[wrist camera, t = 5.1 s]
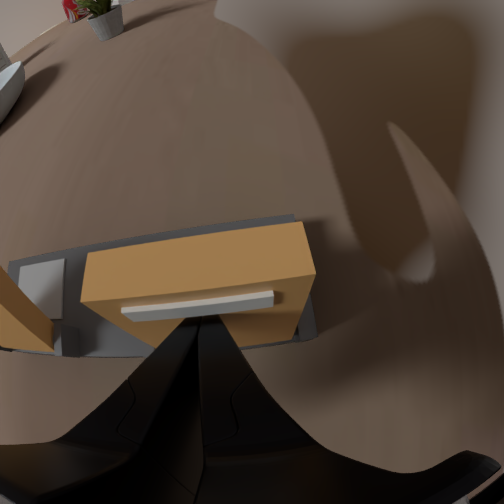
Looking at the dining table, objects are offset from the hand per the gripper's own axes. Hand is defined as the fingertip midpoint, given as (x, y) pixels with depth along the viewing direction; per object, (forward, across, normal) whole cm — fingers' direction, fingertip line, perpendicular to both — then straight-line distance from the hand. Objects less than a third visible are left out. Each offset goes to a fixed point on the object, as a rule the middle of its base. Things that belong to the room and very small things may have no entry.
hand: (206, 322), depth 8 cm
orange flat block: (+3, 0, +3) cm, 5 cm away
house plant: (+45, +18, -34) cm, 59 cm away
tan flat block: (+3, +13, +3) cm, 14 cm away
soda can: (+72, +43, -61) cm, 103 cm away
